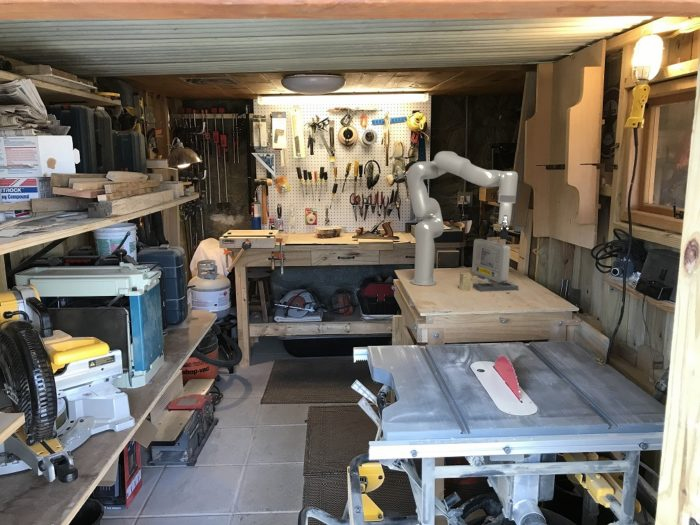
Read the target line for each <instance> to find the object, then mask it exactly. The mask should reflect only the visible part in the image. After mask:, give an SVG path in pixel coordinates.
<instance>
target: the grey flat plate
mask: <svg viewBox="0 0 700 525" xmlns="http://www.w3.org/2000/svg"><path fill="white" fill-rule="evenodd" d="M474 288H475V290H476V289H477V291H478V290H479V291H478V292H499V291H501V292H502V291H503V292H504V291H519V285H516V284H515V283H513V282H509V281H507V282H502V283H500V282H490V283H485V282H481V283H480V282H479V283H478V282H477V283H476V282H474V283H472V289H474Z"/></svg>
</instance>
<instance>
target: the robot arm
mask: <svg viewBox="0 0 700 525" xmlns="http://www.w3.org/2000/svg"><path fill="white" fill-rule="evenodd" d="M446 173H450V174H451V175H452V174H453V175H455V176H458V177H460V178H462V179H463V180H465V181H467V182H468V183H469V182H470V183H471V184H473V185H477V186H479V187H482V188H494V187H495V188H496V187H498V198H497V203H499V212H498V221H497V222H498V225H499V226H501V227H500V234H499V238H500V240H508V238H509V227H510V225H511V220H512V219H511V218H512V212H513V204H516V202H517V200H516V199H517V190H518V189H517V188H518V179H519V175H518V174H519V173H518V172H516V171H515V170H514V171H511V170H509V171H508V170H504V171H503V170H497V169H486V168H482V167H479V166H477V165H475V164H473V163H471V161H470V160H469V159H468V158H465V157H462V156H459V155H458V154H457V153H456V152H454V151H451V150H450V151H449V150H448V151H447V150H442V151H439V152H437V153H436V154H435V155H434V158H433V160H432V161H426V160H425V161H423V160H422V161H416V162H415V163H413V164H412V165H411V166H409V169H408V170H407V173H406V182H407V186H408V187H407V188H408V191H409V197H410V201H411V202H410V203H411V206H412V211H413V214H414V216H415V217H417V218H420V219H421V218H424V220H421V221H419V222H418V223H417V224H416V225H415V227H414V238H415V239H414V240H415V249H414V250H415V253H414V271H413V272H414V274H413V278H412V279H410V282H411V284H412V285H413V284H414V285H417V286H425V287H426V286H434V285H436V284H437V280H436V279H434V270H435V253H436V252H435V251H436V247H435V245H436V244H435V238H438V237H440V236H442V234H443V232H444V228H445V227H444V225H445V224H444V221H443V216H442V210H441V207H440V204H439V202H438V201H437V200H436V199H435V198H433V197H429V194H428V188H427V186H426V185H425V182H424V181H425V180H430V179H431V180H432V179H436V178H438V177H440V176H442V175H445V174H446Z"/></svg>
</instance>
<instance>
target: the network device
mask: <svg viewBox="0 0 700 525" xmlns="http://www.w3.org/2000/svg"><path fill="white" fill-rule="evenodd" d="M510 257H511V247H510V246H509V245H506V244H503V243H498V242H495V241H491V240H486V239H483V238H475V239H474V240H473V250H472V263H471V264H472V266H471V272H472V273H473V274H476V275H473V276H472V278H473V279H474V278H476V279H475V280H477V279H478V280H477V281H480V280H481V281H480V282H482V281H483V282H482V283H491V282H497V283H502V282H508V281H509V269H510V260H511V259H510Z"/></svg>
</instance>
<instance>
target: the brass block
mask: <svg viewBox="0 0 700 525" xmlns="http://www.w3.org/2000/svg"><path fill="white" fill-rule="evenodd" d="M458 281H459V284H458V286H459V287H458V289H459V290H460V291H461V290H462V291H461V292H470V291H471V286H472V284H471V283H472V274H471V273H469V272H459V280H458Z"/></svg>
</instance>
